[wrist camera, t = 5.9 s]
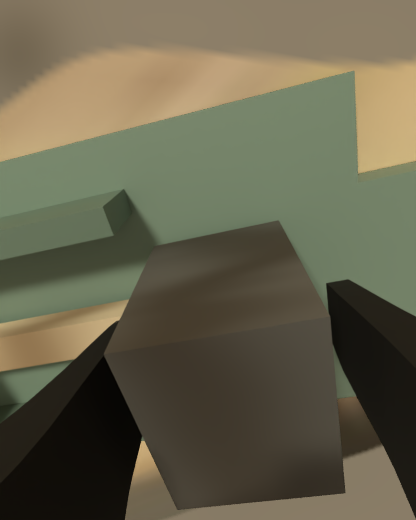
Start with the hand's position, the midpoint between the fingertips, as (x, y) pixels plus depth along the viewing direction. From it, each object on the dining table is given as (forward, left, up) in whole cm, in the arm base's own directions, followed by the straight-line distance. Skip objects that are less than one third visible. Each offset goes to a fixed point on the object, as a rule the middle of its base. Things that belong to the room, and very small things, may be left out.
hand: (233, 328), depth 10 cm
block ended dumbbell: (+4, -3, -2) cm, 5 cm away
